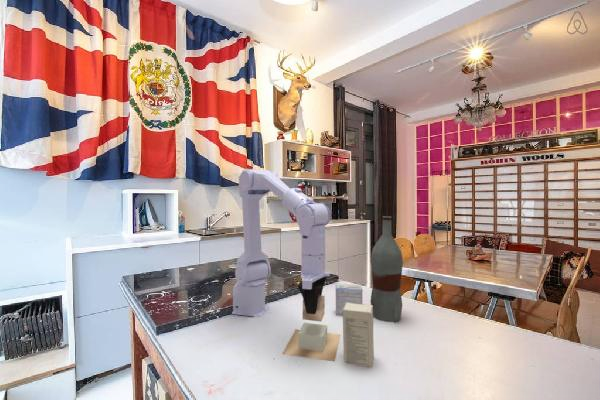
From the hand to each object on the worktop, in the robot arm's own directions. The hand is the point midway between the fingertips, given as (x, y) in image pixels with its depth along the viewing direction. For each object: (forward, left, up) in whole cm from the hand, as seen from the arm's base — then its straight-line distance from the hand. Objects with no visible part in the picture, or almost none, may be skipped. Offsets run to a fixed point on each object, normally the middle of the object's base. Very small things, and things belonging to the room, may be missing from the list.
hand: (313, 308), depth 71 cm
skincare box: (+11, -4, -9) cm, 15 cm away
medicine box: (+7, +20, -9) cm, 23 cm away
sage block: (0, 0, -9) cm, 9 cm away
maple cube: (0, 0, -2) cm, 2 cm away
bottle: (+18, +21, -9) cm, 29 cm away
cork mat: (0, 0, -9) cm, 9 cm away
